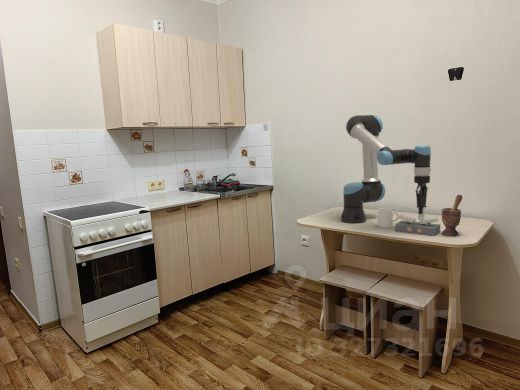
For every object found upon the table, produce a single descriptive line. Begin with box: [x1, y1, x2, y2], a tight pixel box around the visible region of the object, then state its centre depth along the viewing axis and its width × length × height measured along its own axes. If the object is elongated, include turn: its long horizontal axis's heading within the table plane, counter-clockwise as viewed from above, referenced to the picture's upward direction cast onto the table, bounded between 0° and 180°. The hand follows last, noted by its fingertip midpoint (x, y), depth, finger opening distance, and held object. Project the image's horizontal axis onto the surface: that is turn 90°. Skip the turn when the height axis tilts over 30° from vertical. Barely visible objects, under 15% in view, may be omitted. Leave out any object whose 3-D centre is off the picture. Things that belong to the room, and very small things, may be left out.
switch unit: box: [394, 220, 441, 237], centre depth 195 cm, size 20×10×5 cm, turn 50°
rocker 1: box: [398, 214, 417, 223], centre depth 198 cm, size 8×4×2 cm, turn 50°
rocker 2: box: [419, 217, 439, 224], centre depth 191 cm, size 8×4×2 cm, turn 50°
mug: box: [377, 207, 400, 229], centre depth 208 cm, size 8×12×10 cm, turn 49°
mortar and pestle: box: [441, 194, 463, 237], centre depth 186 cm, size 12×9×20 cm
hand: (421, 219), depth 193 cm, fingers closed
